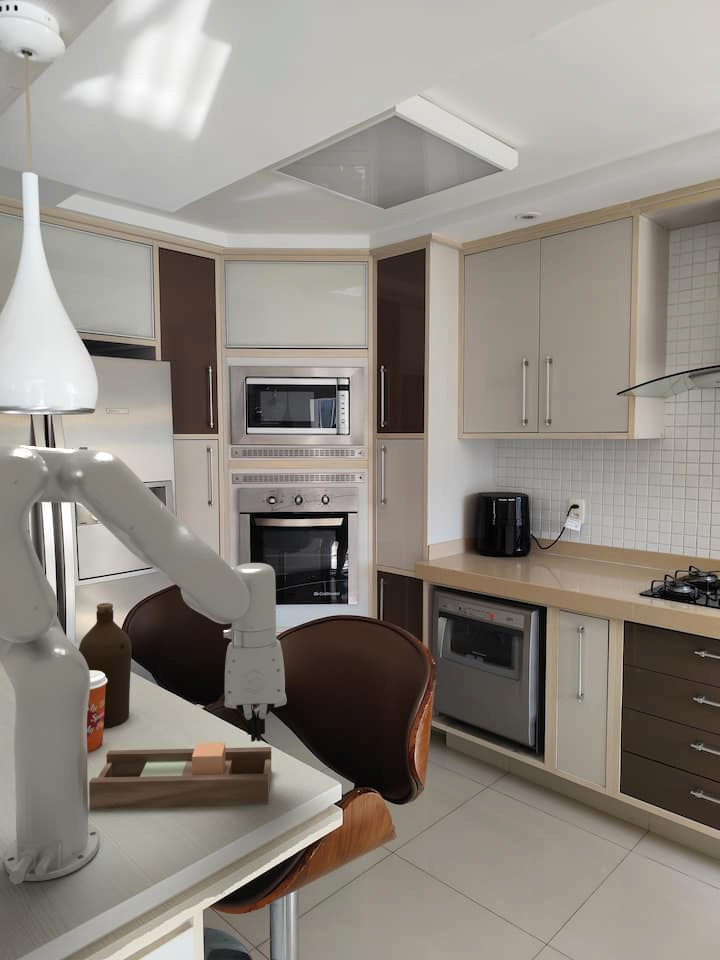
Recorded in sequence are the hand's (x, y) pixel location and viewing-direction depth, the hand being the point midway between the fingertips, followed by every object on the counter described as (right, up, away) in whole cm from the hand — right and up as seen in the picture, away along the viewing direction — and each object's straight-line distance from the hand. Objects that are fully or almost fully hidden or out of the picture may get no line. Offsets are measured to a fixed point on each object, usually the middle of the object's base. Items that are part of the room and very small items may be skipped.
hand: (256, 737), depth 116 cm
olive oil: (-37, -7, +26) cm, 45 cm away
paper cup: (-36, -7, +14) cm, 39 cm away
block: (-8, -6, -1) cm, 10 cm away
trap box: (-12, -9, -1) cm, 15 cm away
